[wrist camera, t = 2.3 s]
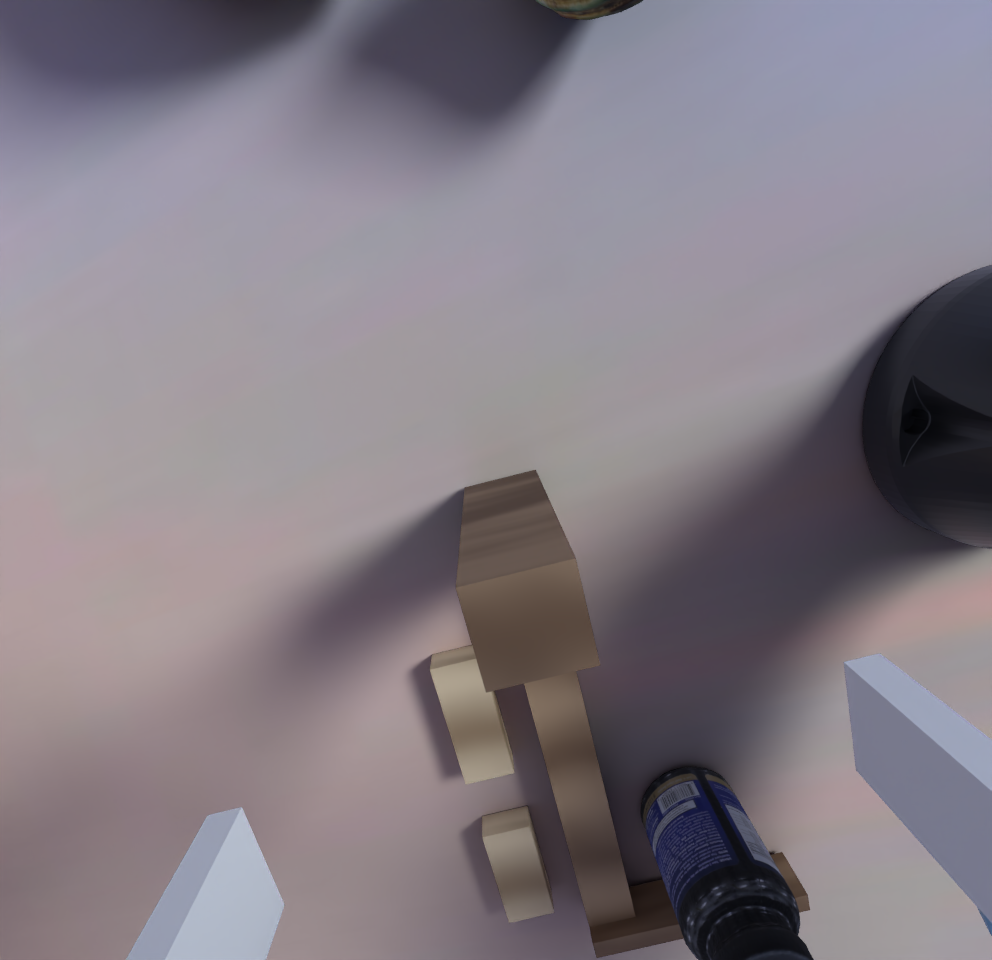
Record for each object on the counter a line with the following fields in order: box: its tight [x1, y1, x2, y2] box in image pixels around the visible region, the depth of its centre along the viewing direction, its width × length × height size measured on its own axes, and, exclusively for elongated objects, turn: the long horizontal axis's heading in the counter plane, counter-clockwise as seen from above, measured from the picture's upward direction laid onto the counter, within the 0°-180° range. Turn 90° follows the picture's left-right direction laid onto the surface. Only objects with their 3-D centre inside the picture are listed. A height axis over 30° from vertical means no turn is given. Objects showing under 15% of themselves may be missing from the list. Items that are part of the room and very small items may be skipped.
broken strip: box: [430, 645, 554, 923], centre depth 35 cm, size 19×3×2 cm, turn 14°
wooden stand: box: [456, 470, 810, 958], centre depth 28 cm, size 31×14×13 cm, turn 14°
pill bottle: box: [641, 767, 814, 960], centre depth 31 cm, size 6×6×11 cm
